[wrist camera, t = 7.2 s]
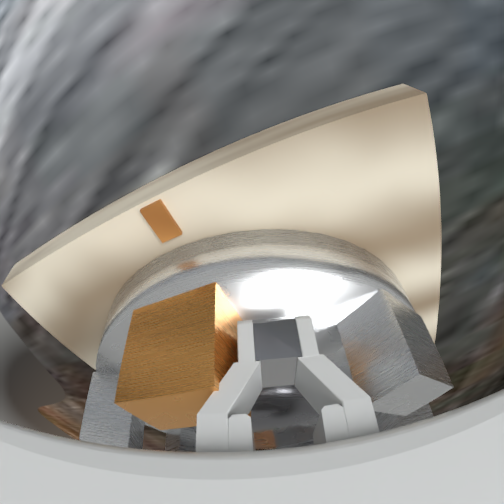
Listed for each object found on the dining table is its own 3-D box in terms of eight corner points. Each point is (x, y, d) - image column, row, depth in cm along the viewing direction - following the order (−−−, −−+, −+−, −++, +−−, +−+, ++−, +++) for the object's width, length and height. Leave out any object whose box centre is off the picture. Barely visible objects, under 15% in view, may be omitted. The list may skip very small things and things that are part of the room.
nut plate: (423, 352, 26) (431, 371, 24) (196, 417, 30) (196, 436, 29) (403, 83, 11) (428, 94, 10) (14, 264, 16) (0, 288, 14)
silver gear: (457, 245, 15) (524, 345, 9) (345, 407, 26) (360, 474, 21) (75, 216, 12) (3, 349, 7) (134, 406, 24) (127, 480, 18)
